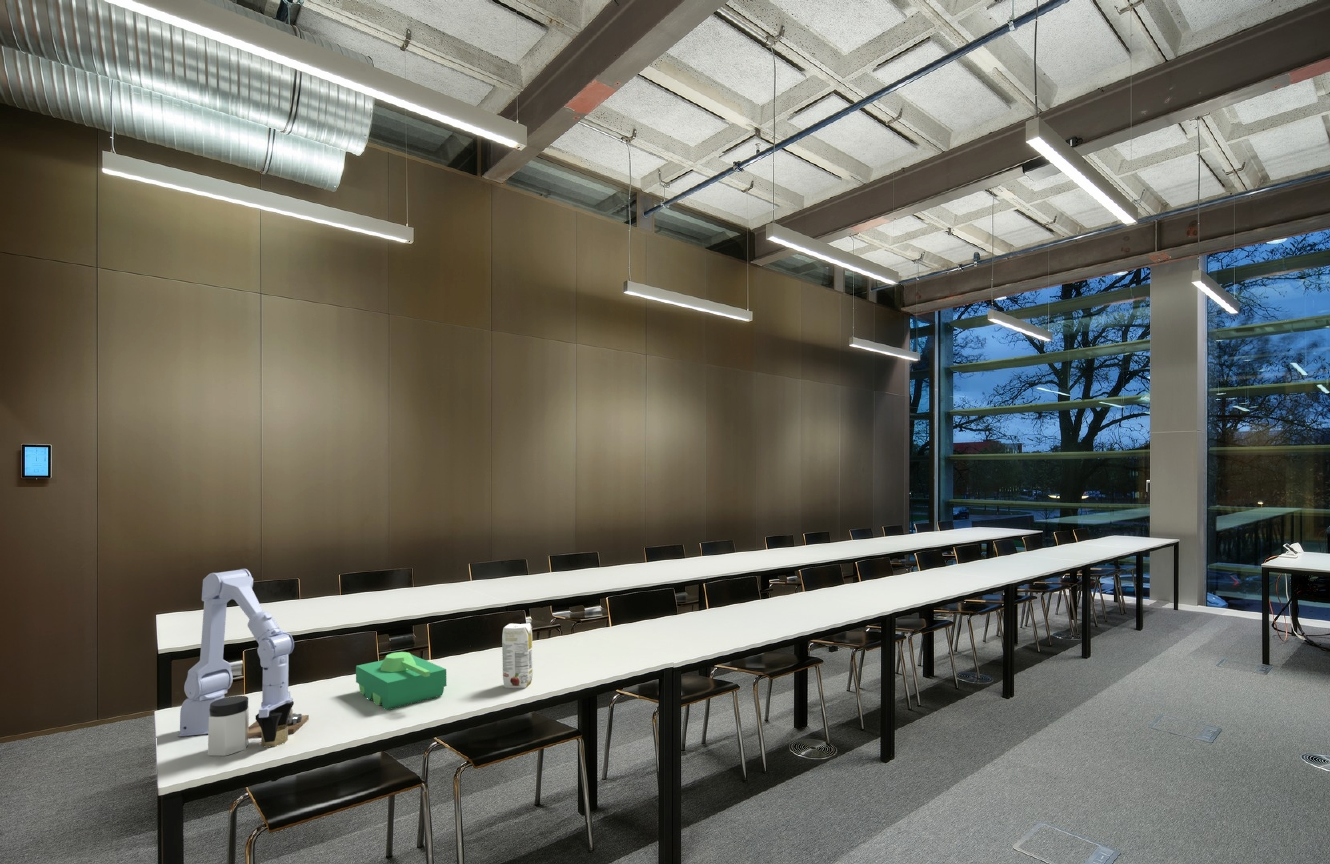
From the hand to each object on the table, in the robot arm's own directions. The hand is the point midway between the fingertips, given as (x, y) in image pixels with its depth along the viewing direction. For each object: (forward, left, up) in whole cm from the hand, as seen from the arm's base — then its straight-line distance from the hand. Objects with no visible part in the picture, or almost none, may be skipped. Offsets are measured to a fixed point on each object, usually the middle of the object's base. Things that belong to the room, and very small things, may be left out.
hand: (274, 736), depth 168 cm
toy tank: (+26, +30, -2) cm, 39 cm away
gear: (0, +11, 0) cm, 11 cm away
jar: (-10, -2, -2) cm, 10 cm away
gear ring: (0, 0, -1) cm, 1 cm away
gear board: (-4, +11, -1) cm, 12 cm away
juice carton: (+59, +32, -2) cm, 68 cm away
